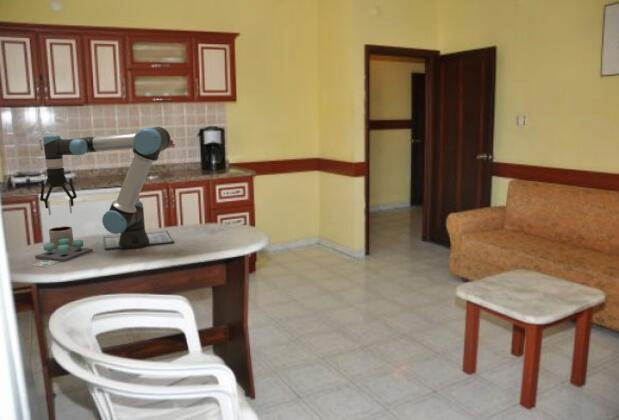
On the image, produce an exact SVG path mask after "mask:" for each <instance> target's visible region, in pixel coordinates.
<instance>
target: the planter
mask: <svg viewBox="0 0 619 420" xmlns="http://www.w3.org/2000/svg"><path fill="white" fill-rule="evenodd" d="M48 234H49V235H48V236H49V243H54V247H55V249H57V248H58V246H59V239H64V238H68V239H69V246H70V247H73V241H74V234H73V228H72V226H57V227H52V228H49V229H48Z"/></svg>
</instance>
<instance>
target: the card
mask: <svg viewBox="0 0 619 420" xmlns="http://www.w3.org/2000/svg"><path fill="white" fill-rule="evenodd" d="M56 264H60V262H59V261H51V260H42V261H39V262H36V263H33V264H31V267H37V268H38V267H39V268H47V267H50V266H52V265H56Z"/></svg>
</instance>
